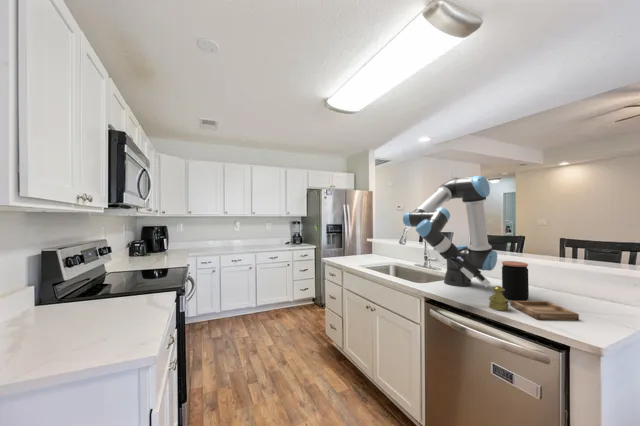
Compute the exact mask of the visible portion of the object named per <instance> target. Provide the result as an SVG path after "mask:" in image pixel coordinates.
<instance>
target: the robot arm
mask: <svg viewBox="0 0 640 426" xmlns="http://www.w3.org/2000/svg"><path fill="white" fill-rule="evenodd" d="M490 188H491V187H490V183H489V181H488V180H487V179H486V177H485V176H482V175H473V176H465V177H464V176H463V177H456V178H452V179H450V180H448V181H446V182H444V183H443V184H440V185H439V186H438V187H437V188H436V189H435V191H434V193H433V194H432V195H431V196H429V197H428V198H427V199H425V201H424V202H423V203H422V204H420V205H419V206H418V207H417V208H415V209H414V210H413V211H409V212H405V213H404V214H403V215H402V223H403V224H404V226H406V227H410V228H415V231H416V233H418V234H419V235H418V236H420V237H421V238H422V239H423V240H424V241H425V242H426V243H428V245H430V247H432V248H433V249H432V250H433V251H436V252H437V253H439V255H440V256H441V257H442V258H443V259H444V260H446V271H445V275H444V277H443V283H445V284H447V285H450V286H456V287H470V286H472V280H473V278H475V279H477V281H479V283H481V285H482V286H484V287H485V288H488V287H489V286H490V284H491V281H489V279H487V278H486V276H484V274H482V271H488V272H491V271H493V270H494V269H495V267H496V266H497V262H498V253H497V251H496V250H493V248H492V247H493V246H492V245H491V244H489V239H488V238H489V237H488V231H487V224H486V223H487V221H486V214H485V213H486V212H485V206H484V202H485V201H487V197H489V196H490V193H491V192H490V191H491V189H490ZM453 199H461V200H462V203H463V204H465V207H466V209H465V210H466V215H467V224H468V232H469V233H468V234H469V241H470V245H455V244H454V243H453V242H452V240H450V239H449V238H448V237H447V236H446V235H445V234H444V233H443V232H442V230H443V229H444V227H445V226H446V225H447V224H448V222H449V219H450V218H451V213H450V211H449V210H448V209H446V207H445V208H444V207H441V206H442V205H443V204H444V203H447V202H450V201H451V200H453Z"/></svg>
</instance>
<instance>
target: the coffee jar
mask: <svg viewBox="0 0 640 426" xmlns="http://www.w3.org/2000/svg"><path fill="white" fill-rule="evenodd" d="M501 264H502V266H501V287H502V288H504V289H505V291H503V292H502V295H503V296H505V298H507V299H508V300H509V301H510V302H511V301H529V298H530V296H529V294H530V293H529V268H528V267H529V264H528V263H527V262H523V261H515V260H514V261H513V260H506V261H505V260H504V261H501Z"/></svg>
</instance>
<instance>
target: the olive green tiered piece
mask: <svg viewBox="0 0 640 426" xmlns="http://www.w3.org/2000/svg"><path fill="white" fill-rule="evenodd" d="M491 290H492V291H493V292H494V293H493V294H491V295H490V296H488V301H489V302H488V307H489V308H490V309H492V310H496V311H501V312H505V311H509V306H510V305H509V304H508V303H509V302H510V300H508V299H507V298H505V296H503V295H502V292H503V291H505V289H504V288H502V285H495V286H492V287H491Z"/></svg>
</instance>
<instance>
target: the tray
mask: <svg viewBox="0 0 640 426" xmlns="http://www.w3.org/2000/svg"><path fill="white" fill-rule="evenodd" d="M511 306H512V307H511ZM510 307H511V308H514V309H515V310H517V311H519V312H521V313H523V314H525V315H527V316H528V317H531V318H532V319H534V320H536V321H541V320H542V321H579V320H580V314H579V313H577V312H575V311H572V310H571V309H567V308H565V307H563V306H560V305H558V304H555V303H553V302H550V301H548V300H527V301H511V300H510Z"/></svg>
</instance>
